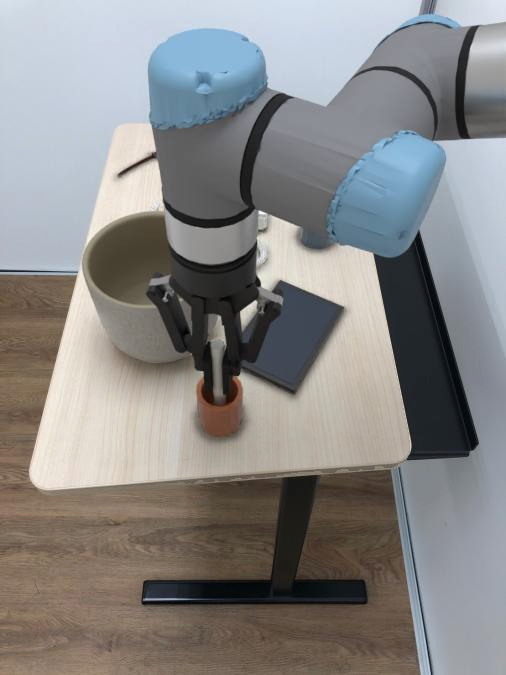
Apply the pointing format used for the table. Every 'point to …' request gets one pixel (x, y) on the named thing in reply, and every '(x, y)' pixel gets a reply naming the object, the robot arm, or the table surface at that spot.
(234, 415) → the cup
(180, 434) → the table surface
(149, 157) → the katana
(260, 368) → the tablet
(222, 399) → the stylus
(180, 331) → the robot arm
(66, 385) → the table surface
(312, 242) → the holder
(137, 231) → the planter
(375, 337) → the table surface
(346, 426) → the table surface
